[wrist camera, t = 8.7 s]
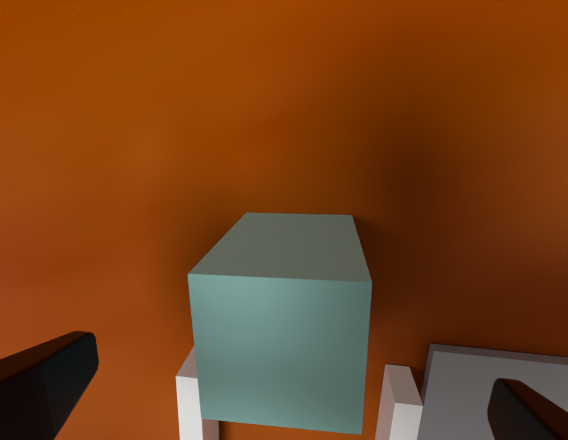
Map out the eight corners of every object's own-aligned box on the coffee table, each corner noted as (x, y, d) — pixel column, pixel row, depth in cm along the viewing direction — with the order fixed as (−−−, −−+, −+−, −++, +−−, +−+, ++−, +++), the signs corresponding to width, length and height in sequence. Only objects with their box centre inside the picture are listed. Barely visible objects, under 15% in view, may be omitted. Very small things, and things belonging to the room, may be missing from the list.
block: (347, 310, 17) (361, 434, 10) (249, 305, 17) (201, 418, 10) (352, 214, 15) (372, 282, 9) (246, 212, 16) (187, 273, 9)
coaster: (576, 503, 18) (585, 515, 17) (405, 478, 19) (408, 489, 18) (629, 363, 15) (641, 372, 15) (429, 343, 16) (433, 351, 16)
